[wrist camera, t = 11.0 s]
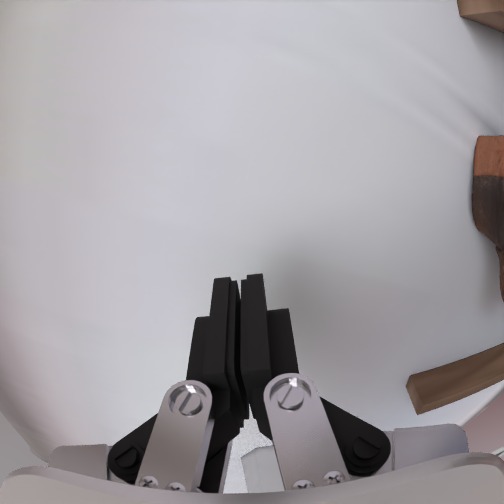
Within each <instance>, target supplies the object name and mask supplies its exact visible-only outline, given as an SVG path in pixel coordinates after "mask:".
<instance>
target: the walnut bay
mask: <svg viewBox="0 0 504 504" xmlns="http://www.w3.org/2000/svg"><path fill="white" fill-rule="evenodd" d="M457 3H458V8H459V13H460V16H462V17H464V18H467V19H470V20H473V21H476V22H478V23H481V24H484V25H486V26H489V27H491V28H494V29H496V30H498V31H501V32H503V33H504V0H457ZM502 380H504V343H503V344H500V345H498V346H496V347H493V348H491V349H488V350H486V351H483V352H481V353H478V354H476V355H473V356H470V357H468V358H465V359H462V360H459V361H456V362H453V363H450V364H447V365H444V366H441V367H438V368H435V369H432V370H429V371H425V372H422V373H418V374H415V375H411V376H410V378H409V380H408V382H407V385H406V388H407V390H408V393H409V395H410V398H411V401H412V403H413V406H414V408H415V411H416V414H417V415H419V414H422V413H425V412H428V411H431V410H434V409H436V408H439V407H442V406H445V405H447V404H450V403H452V402H455V401H457V400H460V399H462V398H465V397H467V396H470V395H472V394H474V393H476V392H479V391H481V390H483V389H485V388H487V387H490V386H492V385H494V384H496V383H498V382H500V381H502Z"/></svg>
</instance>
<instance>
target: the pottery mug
mask: <svg viewBox="0 0 504 504" xmlns="http://www.w3.org/2000/svg"><path fill="white" fill-rule="evenodd" d="M472 201H473V217H474V220H475V223H476V226H477V228H478V230H479V231H481V232H482V233H484V234H485V235H486V236H487V237H488V238H489V239H490V240H491V241H492V242H494V243H495V244H496V245H497V246H496V251H497V253H498V256H499V259H500V290H501V295H502V299H503V302H504V136H503V135H500V136H479V137H478V139H477V145H476V148H475V158H474V178H473V194H472Z"/></svg>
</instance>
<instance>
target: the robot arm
mask: <svg viewBox="0 0 504 504" xmlns="http://www.w3.org/2000/svg"><path fill="white" fill-rule="evenodd" d="M249 404H250V407H251V411H252V414H253V418H254V419H256V420H257V424H258V428H259V431H260V432H261V433H262V434H263V435H265V436H266V437H267V438H269V439H270V440H272V443H273V447H274V451H275V455H276V459H277V463H278V467H279V471H280V475H281V479H282V483H283V487H284V490H285V491H280V492H266V493H242V494H223V490H224V485H225V480H226V475H227V469H228V464H229V459H230V454H231V448H232V439H234V438H235V437H236V436H237V435H238V434H239V433H240V428H244V419H249ZM0 504H504V461H503V460H502V459H501V458H500V457H498V456H496V455H493V454H490V453H482V452H469V449H468V441H467V436H466V433H465V431H464V430H463V429H462V428H461V427H460V426H458V425H456V424H442V425H434V426H424V427H413V428H398V429H394V431H381V430H380V429H378V428H376V427H374V426H372V425H370V424H368V423H367V422H365V421H363V420H361V419H359V418H357V417H355V416H353V415H352V414H350V413H348V412H346V411H344V410H343V409H341V408H339V407H337V406H335V405H334V404H332V403H330V402H328V401H327V400H325V399H323V398H321V397H320V396H319V394H318V391H317V389H316V386H315V385H314V383H313V381H311V380H310V379H309V378H308V377H306V376H304V375H301V374H299V370H298V364H297V357H296V351H295V345H294V338H293V332H292V326H291V320H290V314H289V309H288V308H287V309H278V310H269V311H267V305H266V297H265V289H264V281H263V274H253V275H247V279H245V280H241V299H240V294H239V289H238V284H237V281H231V278H230V277H225V278H215V279H214V284H213V292H212V300H211V308H210V316H206V317H197V318H196V320H195V325H194V331H193V337H192V343H191V350H190V356H189V363H188V370H187V377H186V380H185V381H181V382H178V383H177V384H175V385H173V386H172V387H171V388H170V389H169V390H168V391H167V392H166V394H165V396H164V398H163V401H162V404H161V407H160V410H159V413H157V414H156V415H155V416H153V417H152V418H150V419H149V420H148V421H146V422H145V423H144V424H142V425H141V426H139V427H138V428H137V429H135V430H134V431H132V432H131V433H130V434H128V435H127V436H125V437H124V438H122V439H121V440H119V441H118V442H117V443H116V444H114V445H113V446H108V445H107V444H98V445H76V446H59V447H57V448H55V449H54V450H53V451H52V453H51V454H50V457H49V466H48V467H42V466H32V467H25V468H21V469H18V470H15V471H13V472H11V473H10V474H9V475H8V476H7V477H6V479H5V481H4V482H3V484H2V487H1V490H0Z"/></svg>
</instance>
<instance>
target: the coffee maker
mask: <svg viewBox="0 0 504 504" xmlns="http://www.w3.org/2000/svg"><path fill="white" fill-rule="evenodd" d="M241 460H242V465H243V470H244V475H245V480H246V485H247V490H248V493H266V492H280V491H285V490H284V487H283V483H282V479H281V475H280V471H279V467H278V463H277V459H276V455H275V451H274V447H273V446H267V447H260V448H255V449H254V450H252V451H251V452H249V453H248V454H246V455H244V456H243V457H241Z"/></svg>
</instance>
